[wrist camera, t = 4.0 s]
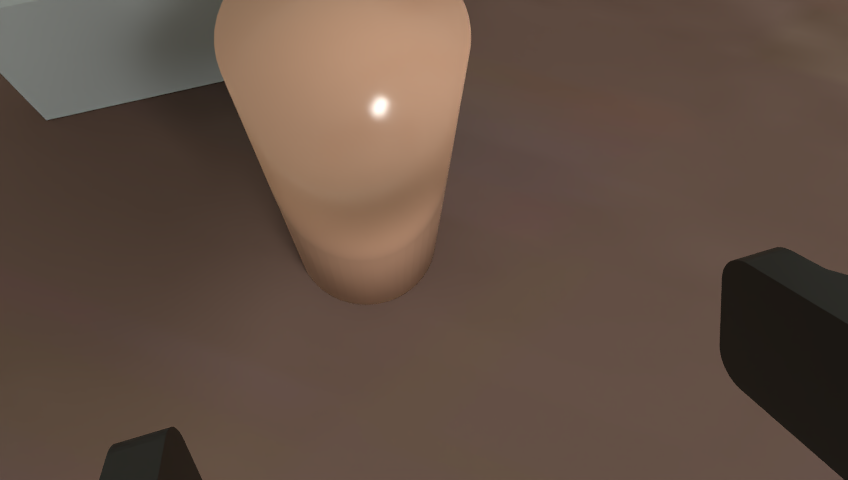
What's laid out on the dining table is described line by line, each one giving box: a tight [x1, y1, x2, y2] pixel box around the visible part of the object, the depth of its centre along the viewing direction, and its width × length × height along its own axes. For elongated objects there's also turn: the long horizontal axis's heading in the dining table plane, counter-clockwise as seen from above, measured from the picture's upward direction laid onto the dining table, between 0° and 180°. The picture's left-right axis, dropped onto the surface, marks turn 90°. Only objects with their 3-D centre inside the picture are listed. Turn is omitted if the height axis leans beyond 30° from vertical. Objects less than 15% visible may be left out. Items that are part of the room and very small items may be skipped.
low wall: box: [0, 0, 224, 120], centre depth 24 cm, size 17×1×6 cm, turn 107°
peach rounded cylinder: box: [214, 0, 471, 305], centre depth 18 cm, size 5×5×12 cm
